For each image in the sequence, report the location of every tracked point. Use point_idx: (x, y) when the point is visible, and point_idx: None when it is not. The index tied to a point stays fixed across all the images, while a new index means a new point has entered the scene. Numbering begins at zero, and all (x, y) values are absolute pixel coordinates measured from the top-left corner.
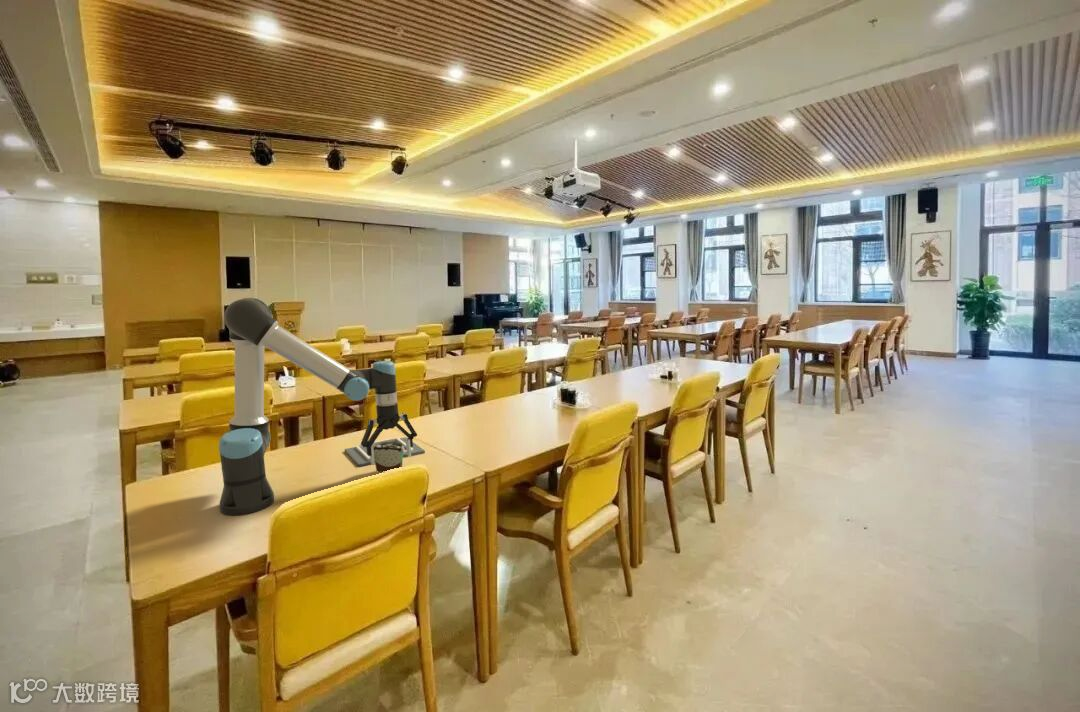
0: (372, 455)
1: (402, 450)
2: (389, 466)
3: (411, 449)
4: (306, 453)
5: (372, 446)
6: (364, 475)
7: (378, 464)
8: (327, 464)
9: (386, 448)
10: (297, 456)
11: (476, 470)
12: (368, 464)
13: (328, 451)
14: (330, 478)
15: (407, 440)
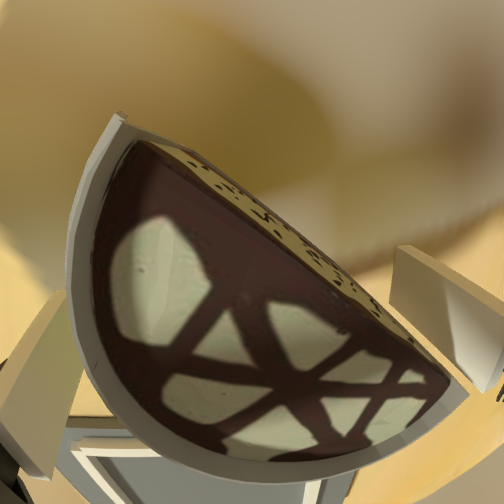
0: (460, 278)
1: (124, 114)
2: (273, 217)
3: (81, 452)
4: (414, 485)
5: (500, 354)
6: (406, 242)
7: (348, 278)
8: None
9: (370, 314)
10: (437, 470)
11: None
12: None
13: (371, 498)
14: (496, 280)
15: (17, 428)
